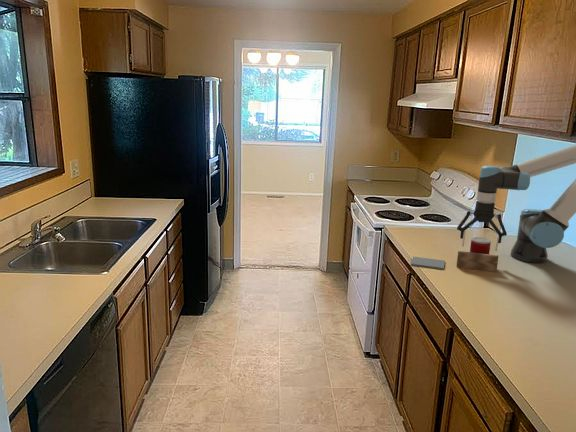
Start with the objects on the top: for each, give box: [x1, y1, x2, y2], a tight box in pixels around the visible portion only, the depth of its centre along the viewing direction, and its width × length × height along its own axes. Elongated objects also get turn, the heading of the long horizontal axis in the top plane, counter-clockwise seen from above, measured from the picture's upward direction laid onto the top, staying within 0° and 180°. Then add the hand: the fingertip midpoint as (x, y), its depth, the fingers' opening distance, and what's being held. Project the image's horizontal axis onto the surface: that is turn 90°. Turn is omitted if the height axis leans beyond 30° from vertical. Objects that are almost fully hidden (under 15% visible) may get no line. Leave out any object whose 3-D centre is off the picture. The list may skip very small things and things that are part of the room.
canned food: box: [469, 236, 492, 255], centre depth 195 cm, size 8×8×11 cm
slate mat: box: [410, 256, 446, 270], centre depth 195 cm, size 14×10×1 cm
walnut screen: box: [456, 250, 499, 273], centre depth 188 cm, size 16×2×7 cm, turn 68°
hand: (479, 247), depth 195 cm, fingers open, 13 cm apart
